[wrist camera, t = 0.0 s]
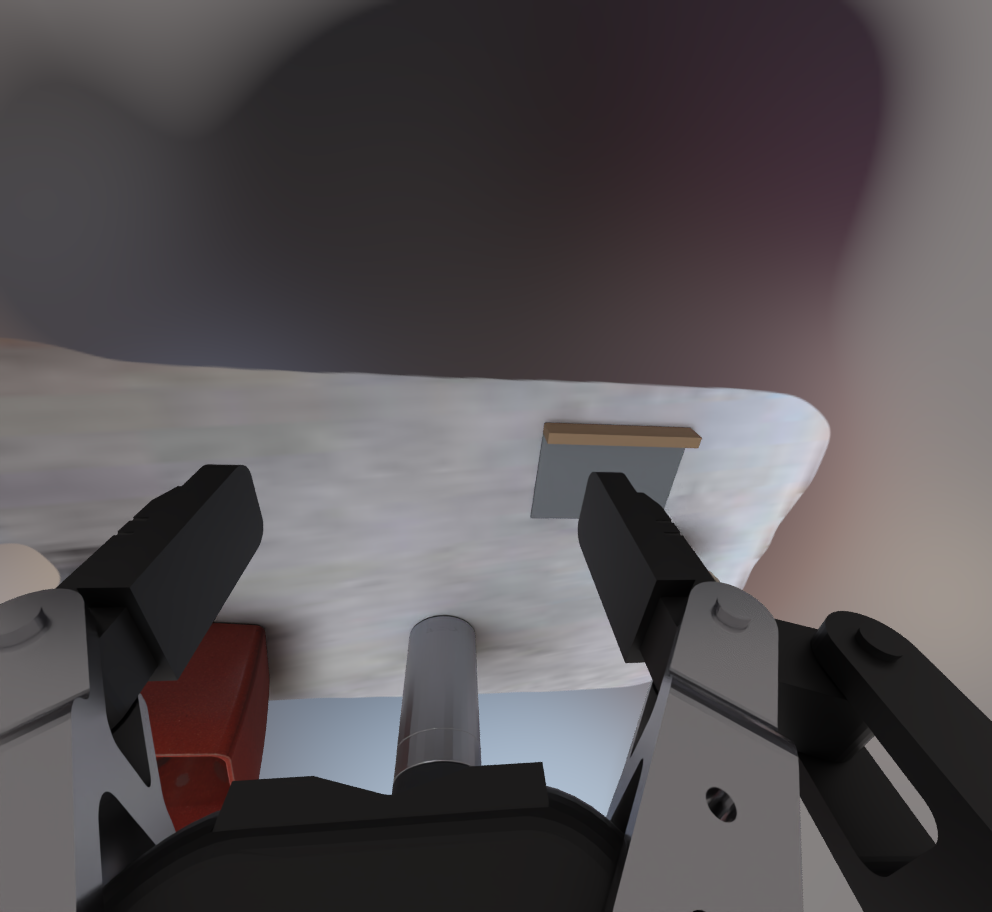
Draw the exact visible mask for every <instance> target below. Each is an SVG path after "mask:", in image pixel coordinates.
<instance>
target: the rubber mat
mask: <svg viewBox="0 0 992 912" xmlns="http://www.w3.org/2000/svg"><path fill="white" fill-rule="evenodd" d="M701 439H702V437H700V436H699V435H698V434H697V433H696V432H695V431H694V430H692V429H691V428H684V427H655V426H626V425H598V424H569V423H545V424H544V431H543V437H542V444H541V451H540V457H539V464H538V471H537V477H536V484H535V490H534V497H533V504H532V510H531V518H574V519H579V517H580V512H581V508H582V503H583V499H584V495H585V490H586V486H587V481H588V478H589V475H590V474H591V473H592V472H622V473H624V474H625V475H626V477H627V478H628V480H629V481H630V483H631V484H632V486H633V487H634V489H635V490H636V492H644V493H645V494H646V495H648V496H649V497H650V498H652V499H653V500H654V501H656V502H657V503H658V504H660V505H661V506H662V508H663V509H664V507H665V504H666V501H667V498H668V496H669V493H670V490H671V487H672V484H673V481H674V478H675V476H676V473H677V470H678V467H679V464H680V461H681V458H682V455H683V453H684V450H685V448H699V445H700V442H701Z"/></svg>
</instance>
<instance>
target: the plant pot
mask: <svg viewBox="0 0 992 912" xmlns="http://www.w3.org/2000/svg"><path fill="white" fill-rule="evenodd" d="M269 683H270V682H269V667H268V658H267V646H266V636H265V630H264V629H263V628H262V627H261V626H258V625H243V624H225V623H212V625H211V626H210V628H209V630H208V631H207V633H206V634H205V636H204V638H203V639H202V641H201V643H200V644H199V646H198V648H197V649H196V651H195V653H194V654H193V656H192V658H191V659H190V661H189V662H188V664H187V666H186V667H185V669H184V671H183V672H182V674H181V676H180V677H179V679H178V680H175V681H148V682H147V683H146V685H145V686H144V688H143V689H142V691H141V692H140V693H141V694H142V696H143V698H144V699H145V701H146V704H147V709H148V715H149V721H150V726H151V732H152V738H153V744H154V750H155V755H156V761H157V767H158V773H159V778H160V784H161V790H162V795H163V799H164V802H165V806H166V809H167V811H168V814H169V816H170V818H171V821H172V823H173V826H174V829H175V831H176V832H177V831H179V830H180V829H182V828H184V827H185V826H187V825H189V824H190V823H192V822H195V821H197V820H199V819H201V818H203V817H205V816H207V815H209V814H211V813H213V812H216V811H219V810H221V808H222V805H223V803H224V800H225V798H226V795H227V793H228V790H229V788H230V785H231V783H232V781H241V780H257V779H259V774H260V768H261V761H262V755H263V747H264V740H265V732H266V723H267V712H268V700H269Z"/></svg>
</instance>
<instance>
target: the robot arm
mask: <svg viewBox="0 0 992 912" xmlns="http://www.w3.org/2000/svg"><path fill="white" fill-rule="evenodd" d="M133 518H134V519H133V521H129V522H128V523H126V524H125V525H124V526H123V527H122V528H121V529H120V530H119V531H118V534H117V535H113V536H112V537H111V538H110V539H109V540H108V541H107V542H106V543H105V544H103V545H102V546H101V547H100V548H99V549H98V550H97V551H96V552H95V553H94V554H93V555H91V556H90V557H89V558H88V559H87V560H86V561H85V562H84V563H83V564H82V565H80V566H79V567H78V568H77V569H76V570H75V571H74V572H73V573H72V574H71V575H70V576H68V577H67V578H66V579H65V580H64V581H63V582H62V583H61V584H60V585H59V586H58V587H56V588H55V589H48V590H41V591H37V592H33V593H29V594H25V595H22V596H19V597H16V598H14V599H11V600H9V601H6V602H4V603H2V604H0V912H803V887H802V857H801V855H802V854H801V823H800V797H801V799H802V801H803V803H804V804H805V806H806V808H807V810H808V812H809V814H810V815H811V817H812V819H813V821H814V822H815V825H816V826H817V828H818V830H819V832H820V834H821V835H822V837H823V839H824V841H825V842H826V844H827V846H828V848H829V850H830V852H831V853H832V855H833V857H834V859H835V861H836V863H837V864H838V866H839V868H840V870H841V872H842V873H843V875H844V877H845V879H846V881H847V882H848V884H849V886H850V888H851V890H852V892H853V893H854V895H855V897H856V899H857V901H858V902H859V904H860V906H861V908H862V910H863V911H864V912H992V721H991V720H990V719H989V718H988V717H987V716H986V715H984V713H983V712H982V711H981V710H979V709H978V708H977V707H976V706H975V705H974V704H973V703H972V702H971V701H970V700H969V699H968V698H967V697H966V696H965V695H964V694H963V693H962V692H961V691H960V690H959V689H958V688H957V687H956V686H955V685H954V684H953V683H952V682H951V681H950V680H949V679H948V678H947V677H946V676H945V675H944V674H943V673H942V672H941V671H940V670H939V669H938V668H937V667H936V666H935V665H934V664H933V663H931V662H930V661H929V660H928V659H927V658H926V657H925V656H924V655H923V654H922V653H921V652H920V651H919V650H918V649H917V648H916V647H915V646H914V645H913V644H912V643H911V642H909V641H908V640H907V639H906V638H904V637H903V636H902V635H901V634H899V633H898V632H896V631H895V630H893V629H892V628H890V627H888V626H886V625H885V624H883V623H881V622H879V621H877V620H875V619H872V618H869V617H867V616H864V615H861V614H858V613H853V612H848V611H837V612H833V613H831V614H829V615H828V616H827V618H826V619H825V621H824V622H823V623H822V625H821V626H820V628H819V629H814V628H810V627H806V626H802V625H798V624H794V623H790V622H785V621H782V620H778V619H774V618H773V616H772V615H771V613H770V612H769V611H768V609H767V608H766V607H765V606H764V605H763V604H762V603H760V602H759V601H758V600H757V599H756V598H754V597H753V596H751V595H750V594H748V593H746V592H745V591H743V590H741V589H739V588H737V587H734V586H732V585H729V584H725V583H721V582H716V581H715V580H714V578H713V577H712V575H711V574H710V573H709V571H708V570H707V568H706V567H705V566H704V564H703V563H702V562H701V560H700V559H699V557H698V556H697V555H696V553H695V552H694V551H693V549H692V548H691V546H690V545H689V544H688V542H687V541H686V539H685V538H684V537H683V536H681V535H680V531H679V530H678V528H677V527H676V526H675V524H674V523H671V519H670V517H669V516H668V515H667V513H666V512H665V511H664V509H663V508H662V506H661V505H660V504H658V503H657V502H656V501H654V500H653V499H652V498H650V497H649V496H648V495H646V494H645V493H644V492H636V490H635V489H634V487H633V486H632V484H631V483H630V481H629V480H628V478H627V477H626V475H625V474H624V473H622V472H592V473H591V474H590V475H589V478H588V481H587V486H586V490H585V495H584V499H583V503H582V508H581V512H580V517H579V522H578V538H579V543H580V547H581V549H582V552H583V555H584V557H585V560H586V562H587V565H588V568H589V570H590V573H591V575H592V578H593V581H594V583H595V586H596V588H597V591H598V594H599V596H600V599H601V601H602V604H603V607H604V609H605V612H606V614H607V617H608V620H609V622H610V625H611V627H612V630H613V633H614V635H615V638H616V640H617V643H618V646H619V648H620V651H621V653H622V656H623V658H624V661H625V663H641V662H645V663H646V666H647V668H648V670H649V673H650V675H651V677H652V680H651V682H650V685H649V688H648V691H647V694H646V698H645V701H644V704H643V707H642V711H641V714H640V717H639V720H638V724H637V727H636V731H635V733H634V737H633V741H632V743H631V746H630V750H629V753H628V757H627V760H626V763H625V766H624V769H623V772H622V775H621V778H620V780H619V783H618V785H617V788H616V791H615V793H614V796H613V799H612V802H611V804H610V807H609V810H608V813H607V816H606V817H605V816H604V815H602V814H601V813H600V812H598V811H597V810H596V809H594V808H593V807H592V806H590V805H588V804H587V803H585V802H583V801H582V800H580V799H578V798H577V797H575V796H573V795H570V794H568V793H566V792H563V791H561V790H559V789H556V788H552V787H548V786H546V782H545V776H544V769H543V763H542V762H535V763H518V764H502V765H487V766H486V765H485V766H481V748H480V730H479V707H478V685H477V660H476V639H475V632H474V630H473V628H472V627H471V626H470V625H469V624H468V623H467V622H465V621H464V620H461V619H459V618H455V617H449V616H440V617H433V618H429V619H426V620H424V621H422V622H420V623H419V624H417V625H416V626H415V627H414V628H413V630H412V631H411V633H410V637H409V646H408V655H407V663H406V672H405V681H404V690H403V699H402V708H401V717H400V726H399V736H398V746H397V755H396V765H395V773H394V783H393V789H392V795H384V794H380V793H376V792H373V791H369V790H365V789H361V788H357V787H353V786H349V785H346V784H342V783H338V782H334V781H330V780H326V779H322V778H319V777H315V776H306V777H290V778H273V779H257V780H241V781H232V783H231V785H230V788H229V790H228V793H227V795H226V798H225V800H224V803H223V805H222V808H221V810H219V811H216V812H213V813H211V814H209V815H207V816H205V817H203V818H201V819H199V820H197V821H195V822H192V823H190V824H189V825H187V826H185V827H184V828H182V829H180V830H179V831H177V832H176V831H175V829H174V826H173V823H172V821H171V818H170V816H169V814H168V811H167V809H166V806H165V802H164V799H163V795H162V790H161V784H160V778H159V773H158V767H157V761H156V755H155V750H154V744H153V738H152V732H151V726H150V721H149V715H148V709H147V704H146V701H145V699H144V698H143V696H142V694H141V693H140V692H141V691H142V689H143V688H144V686H145V685H146V683H147V682H148V681H175V680H178V679H179V677H180V676H181V674H182V672H183V671H184V669H185V667H186V666H187V664H188V662H189V661H190V659H191V658H192V656H193V654H194V653H195V651H196V649H197V648H198V646H199V644H200V643H201V641H202V639H203V638H204V636H205V634H206V633H207V631H208V630H209V628H210V626H211V625H212V623H213V621H214V620H215V618H216V616H217V615H218V613H219V611H220V610H221V608H222V606H223V605H224V603H225V602H226V600H227V598H228V597H229V595H230V593H231V592H232V590H233V588H234V587H235V585H236V583H237V582H238V580H239V578H240V577H241V575H242V574H243V572H244V570H245V569H246V567H247V565H248V564H249V562H250V560H251V559H252V557H253V555H254V554H255V552H256V550H257V549H258V547H259V545H260V543H261V539H262V535H263V519H262V515H261V511H260V507H259V503H258V500H257V496H256V492H255V488H254V484H253V480H252V476H251V473H250V471H249V469H248V468H247V467H246V466H244V465H212V464H208V465H204V466H203V467H201V468H200V469H199V470H198V471H197V472H196V473H195V474H194V475H193V476H192V477H191V478H190V479H189V480H188V481H187V482H186V483H185V484H184V485H182V486H177V487H175V488H174V489H172V490H170V491H168V492H166V493H164V494H162V495H161V496H159V497H157V498H155V499H153V500H152V501H150V502H149V503H148V504H147V505H146V506H145V507H144V508H143V509H142V510H141V511H140V512H138V513H137V514H136V515H135V516H134V517H133ZM874 736H876V738H877V739H878V740H879V742H880V743H881V744H882V745H883V747H884V748H885V749H886V751H887V752H888V753H889V755H890V756H891V757H892V758H893V760H894V761H895V762H896V764H897V765H898V766H899V768H900V769H901V770H902V772H903V773H904V774H905V776H906V777H907V778H908V780H909V781H910V782H911V783H912V785H913V786H914V787H915V789H916V790H917V791H918V793H919V794H920V795H921V796H922V798H923V799H924V801H925V802H926V804H927V805H928V806H929V808H930V810H931V812H932V814H933V816H934V818H935V822H936V825H937V829H938V840H937V843H936V844H935V842H934V841H933V840H932V838H931V837H930V836H929V834H928V833H927V832H926V830H925V829H924V827H923V826H922V825H921V823H920V822H919V821H918V819H917V818H916V817H915V815H914V814H913V812H912V811H911V810H910V808H909V807H908V805H907V804H906V803H905V801H904V800H903V799H902V797H901V796H900V795H899V793H898V792H897V790H896V789H895V788H894V786H893V785H892V783H891V782H890V781H889V779H888V778H887V777H886V775H885V774H884V773H883V771H882V770H881V768H880V767H879V766H878V764H877V763H876V762H875V760H874V759H873V757H872V756H871V755H870V753H869V752H868V751H867V749H866V748H865V747H864V745H866V744H867V743H868V741H870V739H872V738H873V737H874Z"/></svg>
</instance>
